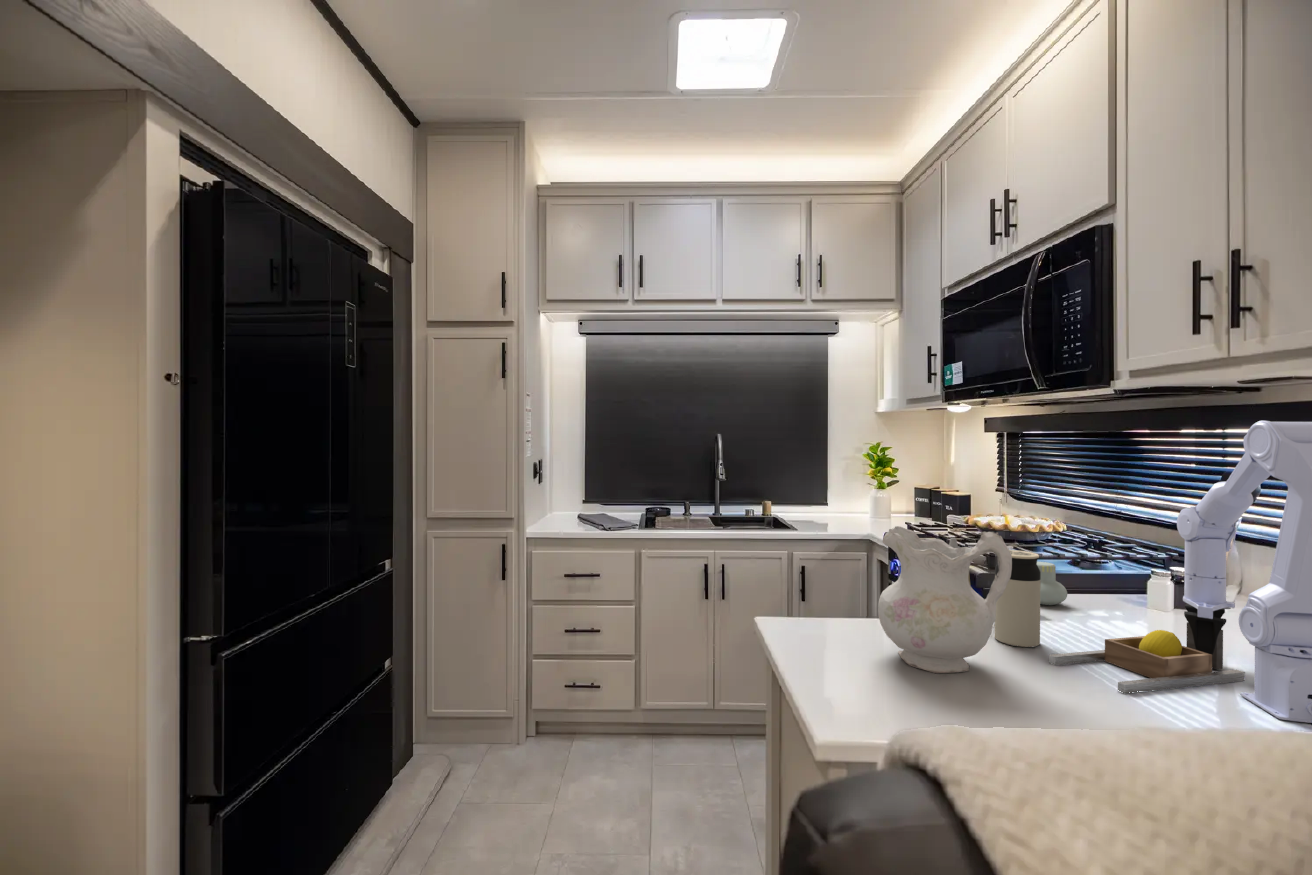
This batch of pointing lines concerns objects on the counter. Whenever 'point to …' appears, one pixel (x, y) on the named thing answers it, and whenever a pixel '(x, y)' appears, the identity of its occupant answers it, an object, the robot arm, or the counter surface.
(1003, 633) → the travel mug
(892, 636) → the ceramic pitcher
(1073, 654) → the lane rails
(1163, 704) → the counter surface
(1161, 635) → the lemon
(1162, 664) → the wooden tray
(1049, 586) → the air freshener
